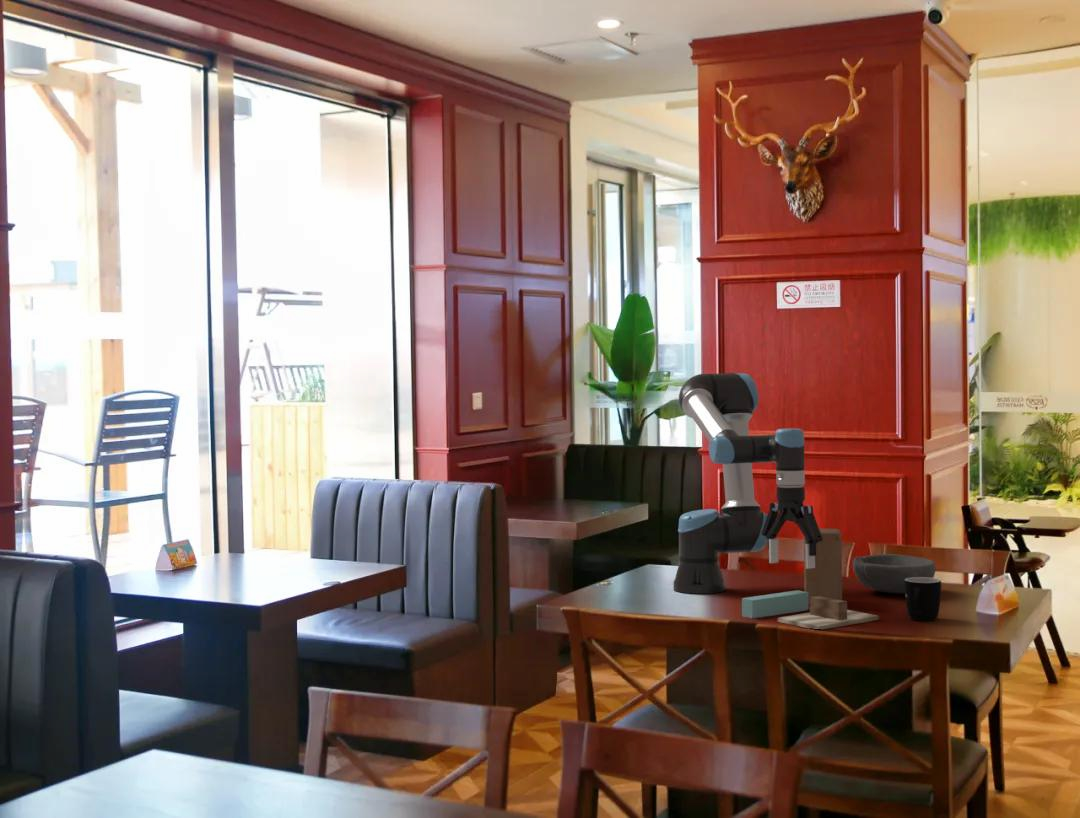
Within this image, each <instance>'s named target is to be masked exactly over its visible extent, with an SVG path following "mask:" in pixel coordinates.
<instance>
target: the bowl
mask: <svg viewBox="0 0 1080 818" xmlns="http://www.w3.org/2000/svg"><path fill="white" fill-rule="evenodd" d="M851 564H852V571H853V573H854V574H855V576H856V578H857V580H858V581H859V582H860V583H861V584H862V585H864V587H867V588H868V589H871V590H874V591H877V592H881V593H885V594H886V593H887V594H896V595H897V594H899V595H900V594H901V595H905V579H906V578H911V577H928V578H935V573H936V567H937V566H936V563H935V562H934V560H932V559H929V558H925V557H918V556H913V555H905V554H891V553H887V554H885V553H880V554H870V555H864V556H855V557H854V558H853V561H852V563H851Z"/></svg>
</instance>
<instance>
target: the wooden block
mask: <svg viewBox="0 0 1080 818" xmlns="http://www.w3.org/2000/svg"><path fill="white" fill-rule="evenodd" d="M819 530H820V533H821V536H822V538H823V540H822V541H820V542H817V544H816V556H815V568H809V569H807V568H806V552H805V544H806V543H807V540H806V538H805V537H804V536H803V554H804V555H803V560H804V561H803V562H804V563H803V569H804V570H803V572H804V578H803V579H804V581H803V582H804V583H803V584H804V586H803V587H804V592H808V606H810V597H815V596H821V597H826V598H832V599H837V600H842V601H843V559H842V558H843V553H842V552H843V551H842V549H843V547H842V545H843V544H842V543H843V542H842V541H843V540H842V539H843V538H842V533H841V530H839V529H838V528H819Z"/></svg>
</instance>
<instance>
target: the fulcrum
mask: <svg viewBox="0 0 1080 818" xmlns="http://www.w3.org/2000/svg"><path fill="white" fill-rule="evenodd" d="M878 620H880V616H879V615H877V614H872V613H866V612H862V611H855V610H852V609H851V610H850V609H848V600H843V599H842V600H837V599H832V598H826V597H821V596H815V597H810V605H809V612H805V613H800V614H799V613H798V614H793V615H787V616H786V615H785V616H780V617H777V622H779V623H782V624H787V625H791V626H797V627H802V628H807V629H810V628H813V629H812V630H814V629H821V630H827V629H828V630H829V629H832V628H838V627H839V628H840V627H845V626H846V627H847V626H850V625H856V624H862V623H868V622H872V621H878Z"/></svg>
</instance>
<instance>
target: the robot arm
mask: <svg viewBox="0 0 1080 818" xmlns="http://www.w3.org/2000/svg"><path fill="white" fill-rule="evenodd" d="M678 403H679V407H680V408H681V410H682V412H683V413H684V414H685V415H686V416H687V417H688V418H691V419H693V421H694V422H695V424H696V425H697V427H698V428H699V429H700V431H701V432H702V434H703V435H704V436H705V438H706V439H707V441H708V442H709V443H708V452H709V453H708V454H709V455H708V456H710V457H709V458H710V460H711V461H712V463H714V464H720V465H722V469H723V470H722V471H723V483H724V484H723V485H724V496H725V497H724V498H725V503H724V504H723V505H722V506H721V508H720V513H719V511H718V510H717V509H714V508H707V509H697V510H691V511H688V512H685V513H683V514H681V515H680V517H679V519H678V529H677V532H678V567H677V569H676V574H675V577H674V578H675V579H674V581H673V591H675V592H678V593H682V594H683V593H684V594H696V595H697V594H699V595H700V594H701V595H702V594H703V595H704V594H714V593H715V594H717V593H722V592H724V591H726V582H725V581H726V580H724V577H723V573H722V570H721V567H720V562H719V560H720V559H719V558H720V557H719V555H720V554H737V553H752V552H760V551H762V550H763V549H764V548H765V546H766V545H767V551H768V560H769V561H768V563H769V564H777V563H779V538H778V534H779V533H780V531H781V529H782V527H783V526H784V525H785V523H786V522H794V524H796V525H797V527H798V528H799V530H800V531H801V533H802V535H803V538H804V537H805V538H806V540H807V543H806V544H805V552H806V568H807V569H809V568H815V556H816V544H817V542H820V541H822V540H823V538H822V536H821V533H820V530H819V529H820V527H819V525H818V523H817V520H816V516H815V514H814V507H813V505H811V504H810V505H805V504H804V501H805V500H806V488H805V487H804V485H805V484H806V478H805V477H806V476H805V475H806V474H805V444H806V441H805V434H804V431H803V429H801V428H779V429H776V431H775V434H773V433H772V434H770V433H769V434H766V435H765V434H762V435H760V434H759V435H757V434H756V435H750V430H749V429H750V428H749V421H751V419H752V418H753V415H754V414H753V412H755V411H756V410H757V408H758V406H759V390H758V387H757V384H756V383H755V380H754V379H753V377H752V376H751V375H750V374H747V373H738V372H726V373H722V372H721V373H700V374H699V373H698V374H696V375H693V376H692V377H690V378H689V379H687V380H686V381H685V382H684V384H683V385H682V386H681V389H680V390H679V394H678ZM756 463H757V464H760V463H761V464H762V463H775V470H776V473H775V474H776V475H775V477H776V479H775V480H776V485H777V487H776V500H777V501H778V502H770V503H769V509H768V513H765V512H764V511H762V509H761V504H759V503H758V502H757V501H756V499H755V488H754V487H755V486H754V477H753V464H756Z"/></svg>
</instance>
